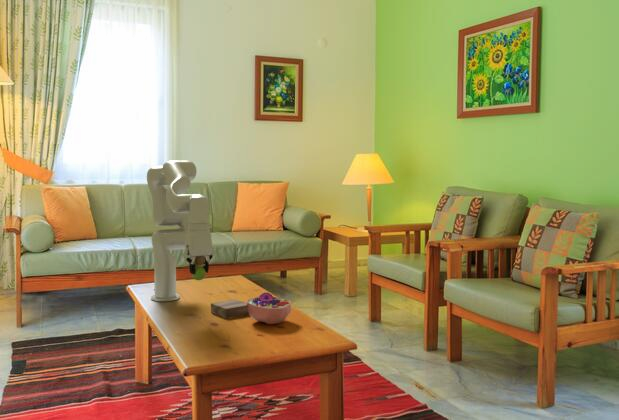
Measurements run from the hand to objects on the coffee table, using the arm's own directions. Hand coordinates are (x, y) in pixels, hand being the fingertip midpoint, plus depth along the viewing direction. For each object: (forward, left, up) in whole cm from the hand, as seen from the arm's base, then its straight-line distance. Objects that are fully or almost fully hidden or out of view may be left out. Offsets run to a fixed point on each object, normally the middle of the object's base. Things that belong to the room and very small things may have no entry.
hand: (199, 272), depth 250 cm
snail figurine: (0, -1, -3) cm, 3 cm away
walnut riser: (0, +14, -19) cm, 24 cm away
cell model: (+21, +19, -19) cm, 34 cm away
